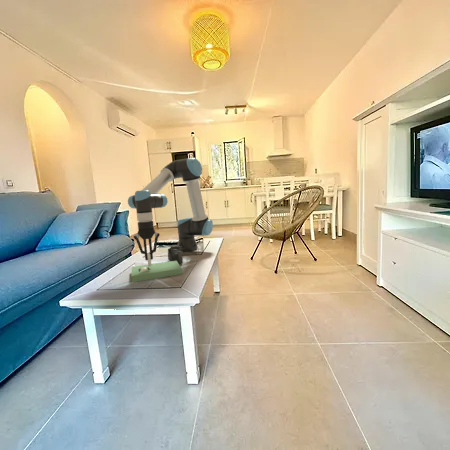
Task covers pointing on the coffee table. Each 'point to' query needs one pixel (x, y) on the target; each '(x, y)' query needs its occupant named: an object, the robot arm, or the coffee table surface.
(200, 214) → the robot arm
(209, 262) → the coffee table surface
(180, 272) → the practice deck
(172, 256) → the camera
